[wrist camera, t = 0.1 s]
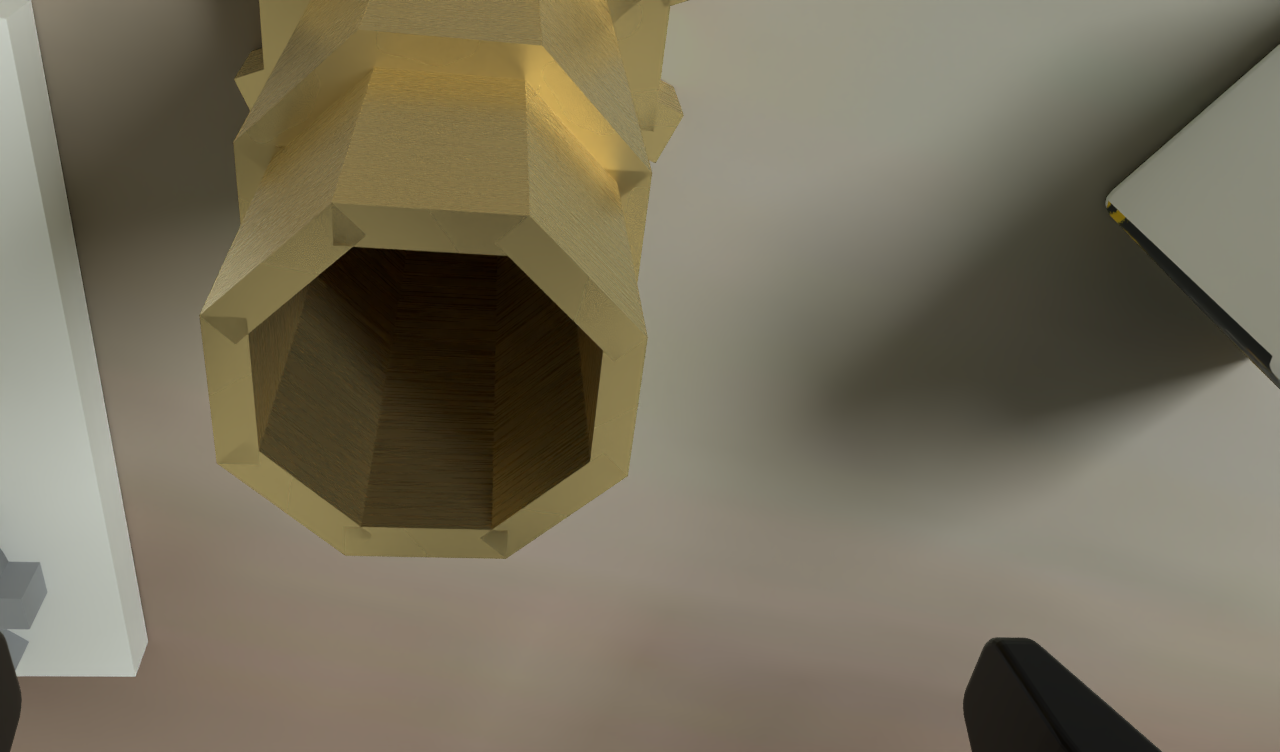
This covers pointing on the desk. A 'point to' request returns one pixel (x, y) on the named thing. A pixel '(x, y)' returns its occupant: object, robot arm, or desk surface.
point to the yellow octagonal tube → (438, 266)
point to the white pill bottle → (1219, 212)
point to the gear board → (53, 410)
